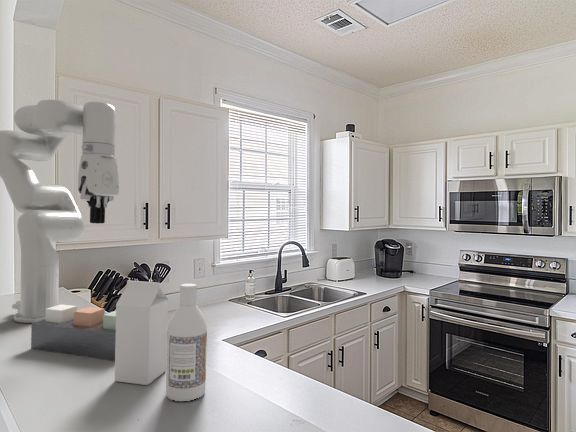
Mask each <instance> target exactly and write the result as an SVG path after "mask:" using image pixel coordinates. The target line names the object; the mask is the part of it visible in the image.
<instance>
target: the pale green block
mask: <svg viewBox="0 0 576 432" xmlns="http://www.w3.org/2000/svg"><path fill="white" fill-rule="evenodd" d="M103 328H104V329H112V330H116V310H114V311H110V312H108V313H105V315H103Z"/></svg>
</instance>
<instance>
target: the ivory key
mask: <svg viewBox="0 0 576 432" xmlns="http://www.w3.org/2000/svg"><path fill="white" fill-rule="evenodd" d="M77 307H78V305H71V304H70V305H69V304H58V305H57V306H54V307H50V308H47V309H46V322H54V323H64V322H67V321H70V320H73V319H74V311H77V310H78V308H77Z"/></svg>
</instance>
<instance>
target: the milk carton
mask: <svg viewBox="0 0 576 432" xmlns="http://www.w3.org/2000/svg"><path fill="white" fill-rule="evenodd" d="M168 310H169V299H168V297H167V296H166V295H165V293H164V292H163V290H162V289H161V283H160V282H157V281H156V282H154V281H142V280H141V281H139V280H129V279H128V280H126V287H125V289H124V290H123V292H122V293H121V295H120V297H119V299H118V300H117V302H116V304H115V311H116V339H115V361H114V382H120V383H128V384H135V385H142V386H149V385H150V384H151V383H153V381H155V380H157V378H158V377H160V376H161V375H162V374H164V373H165V372H167V332H168V315H169V314H168V313H169V311H168Z"/></svg>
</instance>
